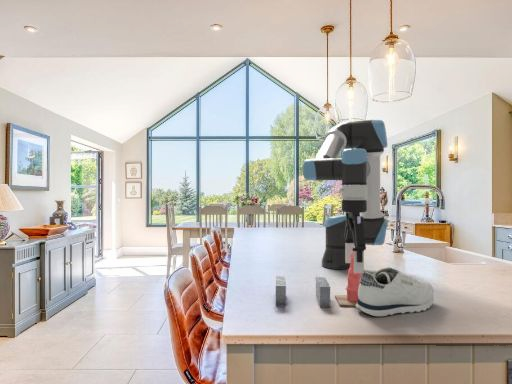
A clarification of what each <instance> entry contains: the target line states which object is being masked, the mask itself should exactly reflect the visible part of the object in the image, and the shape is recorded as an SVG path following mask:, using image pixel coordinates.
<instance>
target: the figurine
mask: <svg viewBox="0 0 512 384" xmlns="http://www.w3.org/2000/svg"><path fill="white" fill-rule="evenodd" d="M350 257H351V261H350V268H349V269H347V286H346V287H345V288H344V289H345V290H346V295H347V300H348V301H352V302H357V301H358V299H359V298H358V288H359V284H360V281H361V278H362V275H363V273H354V251H353V252H352V254H351V256H350Z"/></svg>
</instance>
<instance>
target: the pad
mask: <svg viewBox="0 0 512 384" xmlns="http://www.w3.org/2000/svg"><path fill="white" fill-rule="evenodd" d="M334 298H335V300H336V302H337V303H338V306H339V307H341V308H342V307H344V308H357V307H356V303H357V302H352V301H348V300H347V294H343V295H342V294H334Z"/></svg>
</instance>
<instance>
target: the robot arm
mask: <svg viewBox="0 0 512 384" xmlns="http://www.w3.org/2000/svg"><path fill="white" fill-rule="evenodd" d="M386 148H388V138H387V129H386V125H385V122H384V121H383V120H381V119H369V120H368V119H367V120H356V121H352V120H351V121H345V122H341V123H339V124H336V125H335V126H333V127H332V128H330V129H329V130H327V132H326V133H325V135H324V137H323V143H322V145H321V146H320V148H319V150H318V152H317V153H316V155H315V157H314V158H309V159H308V158H307V159H305V160H304V161H303V164H302V175H303V178H304V179H305V180H306V181H313V182H317V181H341V187H340V188H339V192H341V198H342V200H341V211H342V212H344V213H346V214H342V215H333V216H329V217H327V218H326V220H325V250H324V253H323V255H322V258H321V266H322V267H323V268H325V269H326V268H327V269H332V270H349V268H350V261H351V257H350V256H351V254H352V252H353V251H354V273H364V272H365V267H364V266H365V263H364V262H365V259H364V257H365V251H366V249H367V246H382V245H384V244H385V241H386V236H387V227H388V218H385V214H384V213H383V212H382V211H381V155H383V153H384V152H385V149H386ZM340 153H341V157H340V158H339V156H340Z"/></svg>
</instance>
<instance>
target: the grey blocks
mask: <svg viewBox="0 0 512 384" xmlns="http://www.w3.org/2000/svg"><path fill="white" fill-rule="evenodd" d="M286 284H287V283H286V276H276V277H275V307H287V305H286V304H287V285H286ZM315 297H316V300H317V303H318V305H319V308H331V286H330V284H329V282H328V280H327V278H326V277H323V276H319V277H318V276H317V277H316V276H315Z"/></svg>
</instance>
